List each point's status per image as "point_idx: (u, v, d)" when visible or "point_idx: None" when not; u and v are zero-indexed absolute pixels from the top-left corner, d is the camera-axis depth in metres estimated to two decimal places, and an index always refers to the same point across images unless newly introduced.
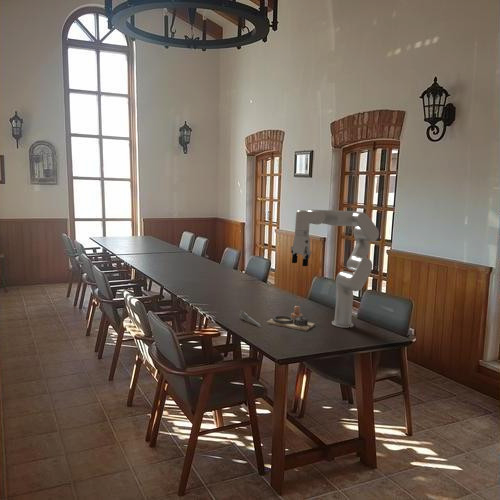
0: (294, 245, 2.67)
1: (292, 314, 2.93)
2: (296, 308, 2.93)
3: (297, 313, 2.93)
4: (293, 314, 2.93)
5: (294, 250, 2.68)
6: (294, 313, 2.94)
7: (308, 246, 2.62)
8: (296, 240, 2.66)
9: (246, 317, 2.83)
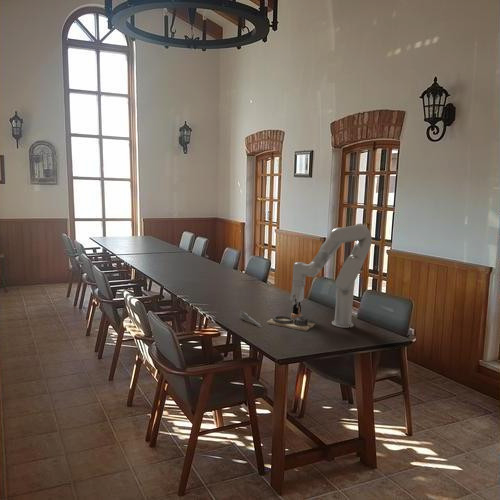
0: (299, 295, 2.90)
1: (292, 314, 2.93)
2: None
3: None
4: (293, 314, 2.93)
5: (299, 300, 2.90)
6: None
7: None
8: (301, 291, 2.90)
9: (246, 317, 2.83)
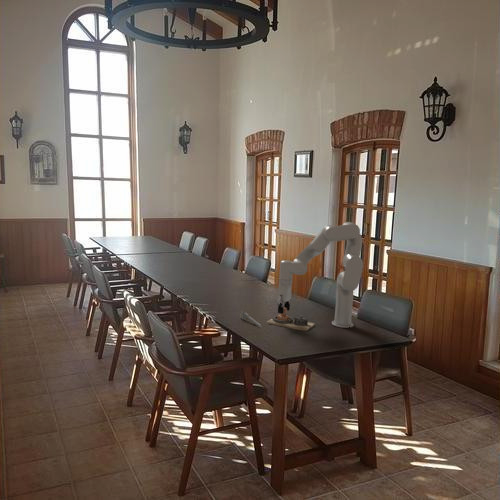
0: (286, 295, 2.79)
1: (279, 316, 2.83)
2: (283, 310, 2.83)
3: (284, 315, 2.83)
4: (280, 316, 2.83)
5: (285, 300, 2.80)
6: (281, 315, 2.84)
7: None
8: (288, 290, 2.80)
9: (247, 317, 2.83)
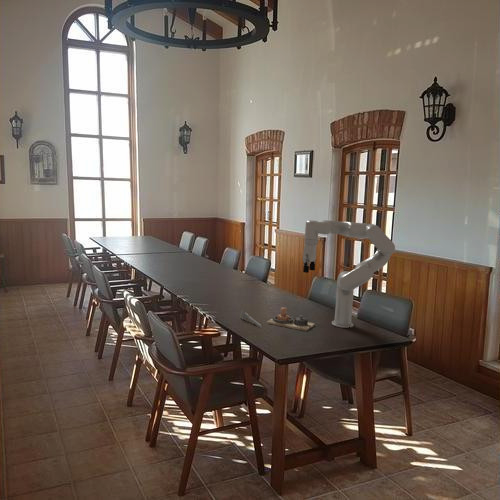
0: (312, 255, 2.80)
1: (279, 316, 2.83)
2: (283, 310, 2.83)
3: (284, 315, 2.83)
4: (280, 316, 2.83)
5: (311, 259, 2.81)
6: (281, 315, 2.84)
7: None
8: (313, 250, 2.81)
9: (247, 317, 2.83)
